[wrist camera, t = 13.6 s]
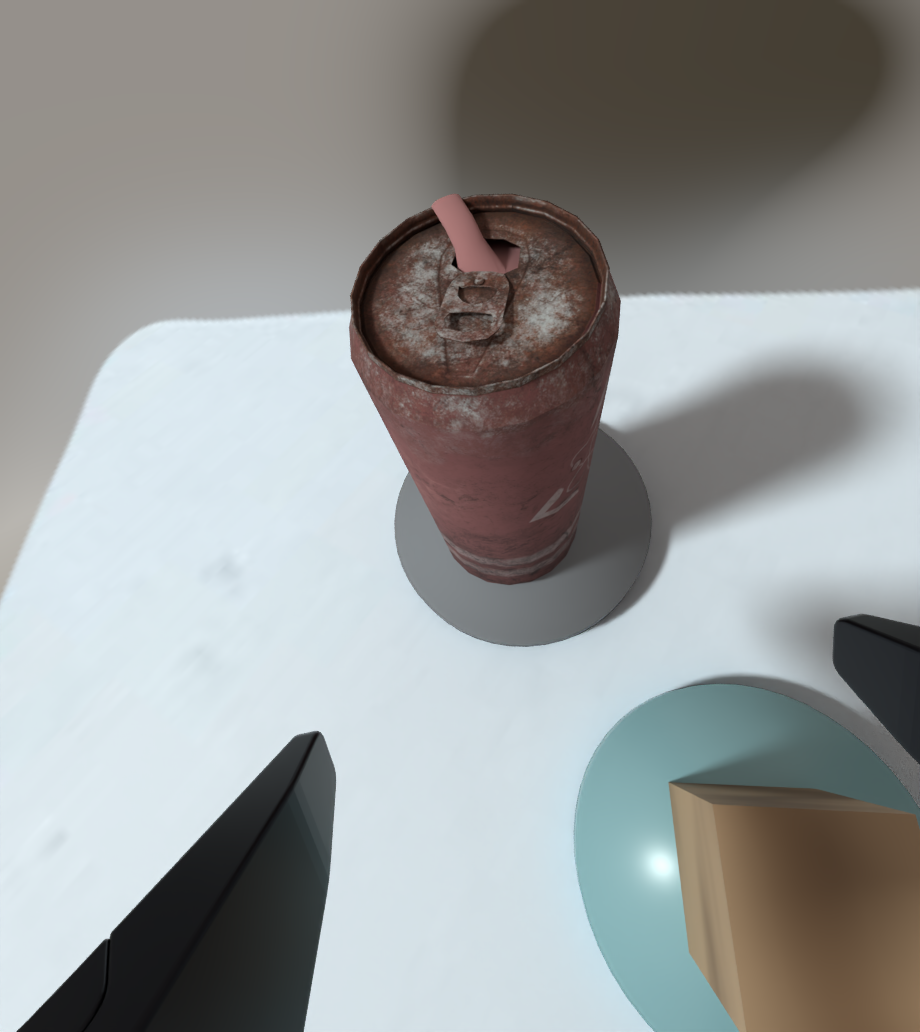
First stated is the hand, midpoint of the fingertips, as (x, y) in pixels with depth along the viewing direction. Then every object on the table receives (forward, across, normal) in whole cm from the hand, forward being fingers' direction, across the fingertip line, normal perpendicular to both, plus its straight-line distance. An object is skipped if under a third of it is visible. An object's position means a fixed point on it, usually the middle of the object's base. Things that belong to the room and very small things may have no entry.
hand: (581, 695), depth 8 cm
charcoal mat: (+16, -2, +2) cm, 16 cm away
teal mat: (+6, -6, +13) cm, 16 cm away
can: (+15, -1, +2) cm, 15 cm away
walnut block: (+5, -6, +12) cm, 15 cm away
